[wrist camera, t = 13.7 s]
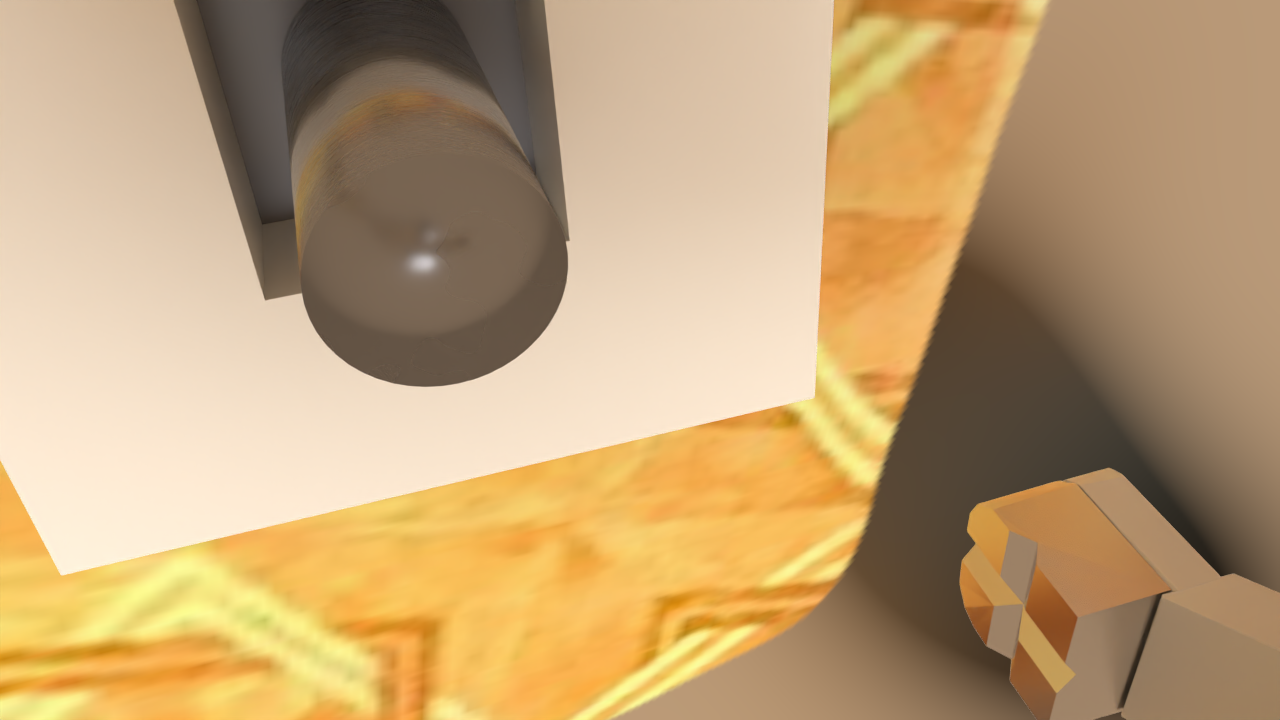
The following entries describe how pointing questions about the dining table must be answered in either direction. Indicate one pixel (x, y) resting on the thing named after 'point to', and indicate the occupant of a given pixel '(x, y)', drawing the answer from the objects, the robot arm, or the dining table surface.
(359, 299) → the steel peg
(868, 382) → the dining table surface
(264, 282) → the housing
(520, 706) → the dining table surface
